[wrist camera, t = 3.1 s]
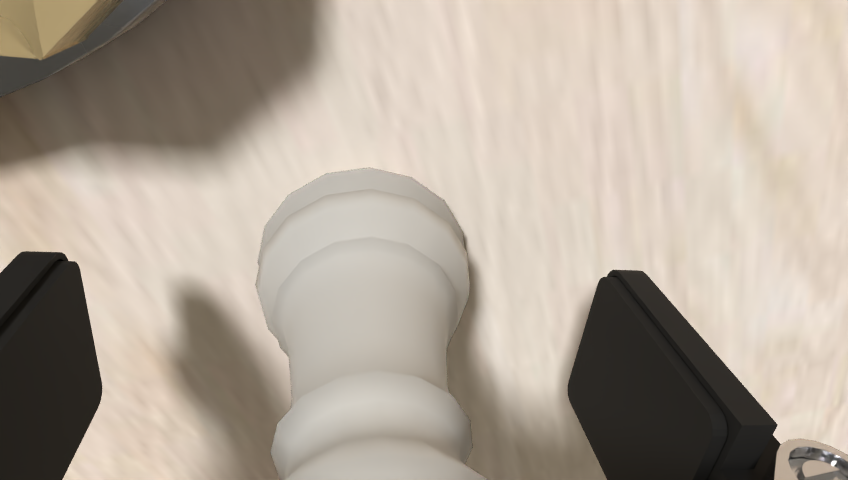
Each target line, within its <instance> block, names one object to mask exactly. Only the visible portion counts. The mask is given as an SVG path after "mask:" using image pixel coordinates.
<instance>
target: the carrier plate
mask: <svg viewBox="0 0 848 480" xmlns="http://www.w3.org/2000/svg"><path fill="white" fill-rule="evenodd" d="M165 1H167V0H0V97H2V96H4V95H7V94H9V93H11V92H14V91H16V90H19V89H21V88H24V87H26V86H28V85H31V84H33V83H36V82H38V81H40V80H43V79H45V78H47V77H49V76H51V75H53V74H54V73H56V72H58V71H60V70H62V69H64V68H66V67H68V66H70V65H71V64H73V63H75V62H77V61H79V60H81V59H83V58H84V57H86V56H88V55H89V54H91V53H93V52H94V51H96V50H97V49H99V48H101V47H102V46H104V45H106V44H107V43H109V42H111V41H112V40H114V39H115V38H117V37H119V36H120V35H122V34H124V33H125V32H127V31H129V30H130V29H132V28H133V27H135V26H137V25H138V24H140V23H141V22H142V21H143V20H144V19H146V18H147V17H148V16H149V15H150V14H151V13H153V12H154V11H155V10H156V9H157V8H158V7H160V6H161V5H162V4H163V3H164V2H165Z"/></svg>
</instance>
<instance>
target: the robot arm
mask: <svg viewBox="0 0 848 480" xmlns="http://www.w3.org/2000/svg"><path fill="white" fill-rule="evenodd" d="M101 396H102V382H101V377H100V371H99V366H98V361H97V356H96V351H95V345H94V340H93V335H92V330H91V325H90V319H89V314H88V309H87V304H86V299H85V293H84V288H83V283H82V278H81V273H80V269H79V266H78V264H77V263H76V262H73V261H68V259H67V257H66V256H65V254H63V253H60V252H28V251H26V252H21V253H20V254H18V255H17V256H16V257H15V258H14V259H13V261H12V262H11V263H10V264H9V265H8V266H7V267H6V268H5V269H4V270H3V271H2V272H1V273H0V480H62V479H63V477H64V475H65V473H66V471H67V469H68V467H69V465H70V463H71V461H72V459H73V457H74V455H75V453H76V451H77V449H78V447H79V445H80V443H81V441H82V439H83V437H84V435H85V433H86V431H87V429H88V427H89V425H90V423H91V421H92V419H93V417H94V415H95V413H96V411H97V409H98V406H99V404H100V401H101ZM568 396H569V400H570V403H571V405H572V407H573V409H574V411H575V413H576V415H577V418H578V420H579V422H580V424H581V426H582V428H583V430H584V432H585V434H586V436H587V438H588V440H589V442H590V445H591V447H592V449H593V451H594V453H595V455H596V457H597V459H598V461H599V463H600V465H601V467H602V469H603V472H604V474H605V476H606V478H607V480H848V455H847V454H845V453H843V452H841V451H839V450H837V449H835V448H833V447H831V446H828V445H826V444H823V443H820V442H817V441H812V440H806V439H793V440H788V441H786V442H784V443H782V444H780V443H779V442H778V441H777V440H776V438H775V437H774V436H773V433H774V431H775V429H776V427H777V424H776V422H775V421H774V420H773V419H772V418H771V417H770V416H769V414H768V413H767V412H766V411H765V410H764V409H763V407H762V406H761V405H760V404H759V403H758V402H757V401H756V399H755V398H754V397H753V396H752V395H751V394H750V393H749V391H748V390H747V389H746V388H745V387H744V386H743V385H742V383H741V382H740V381H739V380H738V379H737V378H736V377H735V375H734V374H733V373H732V372H731V371H730V370H729V369H728V367H727V366H726V365H725V364H724V363H723V362H722V360H721V359H720V358H719V357H718V356H717V355H716V354H715V352H714V351H713V350H712V349H711V348H710V347H709V346H708V344H707V343H706V342H705V341H704V340H703V339H702V338H701V336H700V335H699V334H698V333H697V332H696V331H695V330H694V328H693V327H692V326H691V325H690V324H689V323H688V322H687V320H686V319H685V318H684V317H683V316H682V315H681V313H680V312H679V311H678V310H677V309H676V308H675V307H674V305H673V304H672V303H671V302H670V301H669V300H668V299H667V297H666V296H665V295H664V294H663V293H662V292H661V291H660V289H659V288H658V287H657V286H656V285H655V284H654V283H653V281H652V280H651V279H650V278H649V277H648V276H647V275H646V274H645V273H644V272H643V271H632V270H612V271H610V273H609V274H608V275H607V277H603V278H601V279H600V280H599V283H598V285H597V289H596V292H595V295H594V299H593V302H592V305H591V309H590V312H589V315H588V319H587V322H586V326H585V329H584V332H583V336H582V339H581V342H580V346H579V349H578V352H577V356H576V359H575V362H574V366H573V369H572V373H571V376H570V379H569V383H568Z"/></svg>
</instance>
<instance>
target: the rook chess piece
mask: <svg viewBox="0 0 848 480" xmlns="http://www.w3.org/2000/svg"><path fill="white" fill-rule="evenodd" d="M258 265H259V270H258V275H257V280H256V288H257V292H258V296H259V299H260V303H261V306H262V310H263V313H264V316H265V320H266V323H267V327H268V329H269V331H270V332H271V333H272V334H273V335H274V336H275V337H276V338H277V340H278V342H279V345H280V348H281V349H282V350H283V351H284V352H285V354H286V355H287V356H288V357H289V367H290V380H291V393H292V402H291V409H290V410H289V411H288V412H287V413H286V415H285V416H284V417H283V418H282V419H281V420H280V421H279V422H278V424H277V428H276V432H275V436H274V440H273V444H272V448H271V452H270V453H271V456H272V459H273V462H274V465H275V468H276V471H277V474H278V477H279V479H280V480H488V479H486V478H485V477H483V476H482V475H480V474H479V473H477V472H476V471H474V470H473V469H471V468H470V467H468V466H467V465H465V462H466V460H467V458H468V456H469V454H470V452H471V449H472V435H471V423H470V419H469V418H468V416H467V415H466V413H465V412H464V411H463V409H462V408H461V406H460V405H459V404H458V402H457V401H456V400H455V398H454V397H453V395H451V394H449V389H448V384H447V353H446V349H447V348H448V345H449V343H450V340H451V337H452V335H453V333H454V332H455V331H456V329H457V326H458V323H459V321H460V318H461V316H462V313H463V311H464V308H465V306H466V303H467V301H468V297H469V290H470V284H469V270H468V257H467V252H466V251H465V249H464V239H463V231H462V230H461V228H460V226H459V224H458V223H457V221H456V219H455V218H454V216H453V214H452V213H451V211H450V209H449V207H448V206H447V204H446V202H445V201H444V200H443V199H442V198H440V197H439V196H437V195H436V194H435V193H433V192H432V191H430V190H429V189H427V188H426V187H425V186H423V185H422V184H420V183H419V182H418V181H416V180H415V179H413V178H412V177H408V176H404V175H400V174H395V173H391V172H387V171H382V170H378V169H374V168H363V169H355V170H348V171H341V172H334V173H326V174H324V175H322V176H321V177H319V178H317V179H315V180H313V181H312V182H310V183H308V184H306V185H305V186H303V187H301V188H299V189H297V190H296V191H294V192H292V193H290V194H289V195H288V196H287V197H286V199H285V200H284V201H283V203H282V204H281V205H280V206H279V208H278V209H277V210H276V212H275V213H274V214H273V216H272V217H271V218H270V220H269V221H268V222H267V224H266V225H265V227H264V232H263V237H262V243H261V248H260V253H259V258H258Z"/></svg>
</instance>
